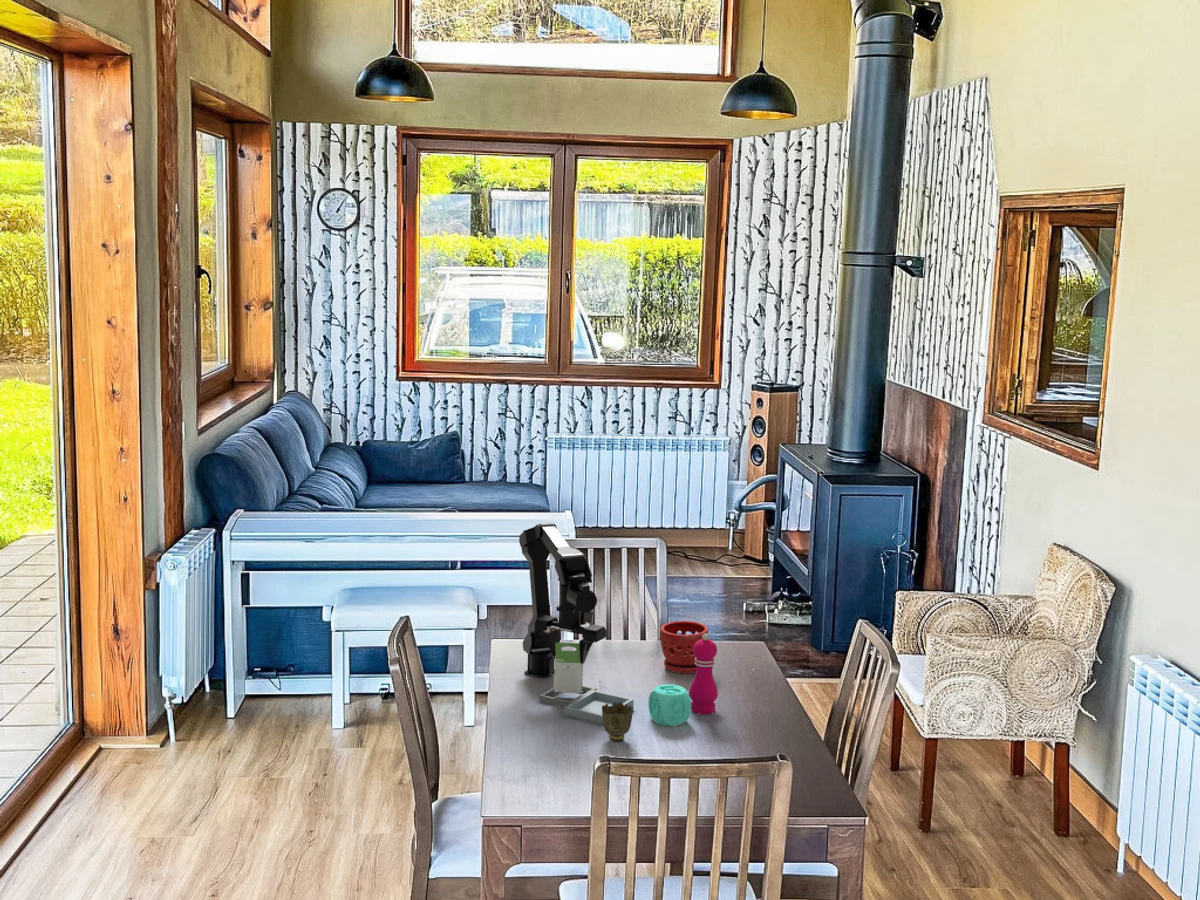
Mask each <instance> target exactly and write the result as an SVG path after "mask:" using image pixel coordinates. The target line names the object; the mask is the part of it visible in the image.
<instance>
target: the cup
mask: <svg viewBox="0 0 1200 900" xmlns="http://www.w3.org/2000/svg"><path fill="white" fill-rule="evenodd" d="M612 704H613V705H612V706H608V704H606V705H605V706H604V705H603V706H602V717H603V725H604V726H603V729H604V730H605V732H606V733H607V734H608V738H609V740H610V742H611V741H612V742H617V743H618V742H619V743H620V742H622V741H624V739H625V735H626V734H627V733H629V731H630V729H631V725H632V719H633V713H634V707H633V708H632V707H631V705H630V706H629V707H628V705H627V704H625V706H624V705H623V703H622V702H619V703H617V704H616V703H615V702H613V703H612Z"/></svg>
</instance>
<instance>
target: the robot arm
mask: <svg viewBox="0 0 1200 900" xmlns="http://www.w3.org/2000/svg"><path fill="white" fill-rule="evenodd" d="M518 539H519V540H518V542H519V546H520V549H521V554H522V555H523V556H524V558H525V560H526V561H527V562H528V566H529V567H528V569H529V582H530V593H531V594H530V595H531V604H532V605H531V607H532V617H531V619H530V622H529V624H528V625H527V634H526V636H525V638H524V640H523V641H522V650H523V652H525V653H526V655H527V670H525V671H524V675H529V676H533V677H539V678H542V677H545V678H547V677H548V676H550V675H552V674H555V655H556V643H561V633H560V631H561V632H562V631H563V632H568V633H572V634H577V635H582V636H581V637H582V639H580V640H579V641H578V643H579V646H580V661H581V664H583V665H584V664H585V663H586V660H587V656H588V654H589V651H590V650H591V648H592V645H593V644H594V643H599V642H600V641H602V640H603V639H606V638H607V637H608V636H607V633H608V632H607V631H608V630H607V628H606V627H605V626H604V625H603V626H602V625H597V624H592V622H593V616H594V609H595V608H596V607H597V603H598V598H597V596H596V593H595V592H594V591H592V590H591V586H590V585H589V583H592V582H593V579H592V578H593V574H592V571H591V570H592V569H591V567H590V564H589V561H588V559H587V557H586V556H585V555H584V553H583V552H581V550H579V549H577V548H574V547H571V546H570V545H569V544H568V541H566V539H565V538H564V537H563V536H562V534H561V533H560V531H559V530H558V528H557V524H556V523H553V522H544V523H543V522H542V523H541V522H540V523H538V524H536V525H534V526H532V527H530V528H528V529H524V530H523V532H522V533H520V534H519V537H518ZM550 554H551V556H552V557H553V559H554V560H555V561H554V568H555V573H556V574H557V581H559V594H558V595H559V598H558V600H559V601H558V603H559V605H558V606H556V612H558V618H557V617H556V616H553V615H552V614H551V604H550V592H549V590H550V589H549V580H548V567H547V560H548V558H549V556H550ZM586 624H590V625H589V626H587V627H586V626H584V625H586ZM551 673H552V674H551ZM546 676H547V677H546Z"/></svg>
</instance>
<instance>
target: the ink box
mask: <svg viewBox="0 0 1200 900" xmlns="http://www.w3.org/2000/svg"><path fill="white" fill-rule="evenodd" d="M567 647H570V648H575V650H569V649H568V650H565V649H564V650H563V649H562V648H567ZM554 669H555V672H554V677H553V679H554V680H553V681H554V682H553V684H554V685H553V686H554V687H553V688H554V692H558V693H565V694H566V693H567V694H569V693H570V694H581V693H582V692H581V690H582V685H583V680H584V679H583V678H584V677H583V676H584V664H581V661H580V646H579V642H577V643H576V642H560V643H556V655H555V658H554Z"/></svg>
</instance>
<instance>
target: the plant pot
mask: <svg viewBox="0 0 1200 900" xmlns="http://www.w3.org/2000/svg"><path fill="white" fill-rule="evenodd" d="M678 632H680V633H681V634H678ZM687 632H689V633H691V634H687ZM696 632H697V633H696ZM703 634H708V635H709V628H708V627H707V626H706V625H705V624H703V623H701V622H695V621H689V620H688V621H687V620H680V621H671V622H668V623H665V624H663V625H662V626H660V633H659V635H660V646H661V651H662V654H663V656H664V660H663V665H664V667H665V668H666V669H667V670H669V671H670V672H673V673H678V674H686V673H687V674H686V675H688V674H693V673H696V664H695V658H696V656H695V655H694V653H693V647H694V644H695V643H696V642H697V641H699V640H701V639H702V636H703Z"/></svg>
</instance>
